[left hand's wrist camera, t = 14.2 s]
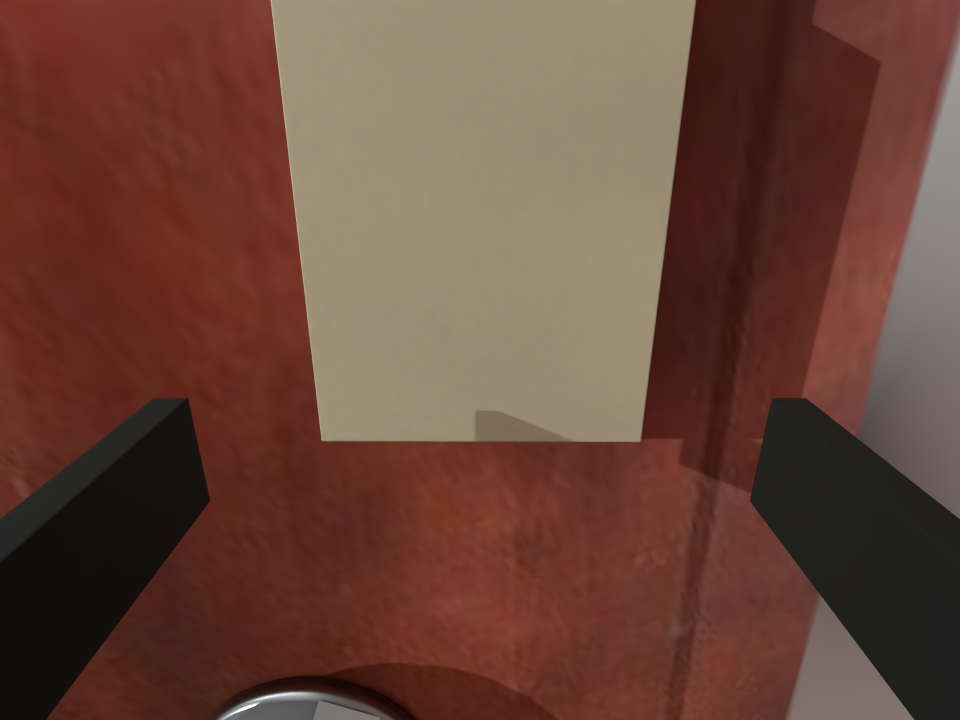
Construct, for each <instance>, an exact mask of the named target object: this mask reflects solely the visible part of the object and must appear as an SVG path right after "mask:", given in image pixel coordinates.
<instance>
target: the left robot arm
mask: <svg viewBox="0 0 960 720" xmlns="http://www.w3.org/2000/svg"><path fill="white" fill-rule="evenodd" d="M209 502H210V498H209V494H208V489H207V484H206V480H205V475H204V470H203V466H202V461H201V456H200V452H199V447H198V443H197V438H196V433H195V429H194V424H193V419H192V415H191V410H190V405H189V401H188V398H154V399H152V400H151V401H150V402H149V403H147V404H146V405H145V406H144V407H142V408H141V409H140V410H139V411H137V412H136V413H135V414H133V415H132V416H131V417H130V418H128V419H127V420H126V421H125V422H123V423H122V424H121V425H119V426H118V427H117V428H116V429H114V430H113V431H112V432H111V433H109V434H108V435H107V436H105V437H104V438H103V439H102V440H100V441H99V442H98V443H97V444H95V445H94V446H93V447H91V448H90V449H89V450H88V451H86V452H85V453H84V454H83V455H81V456H80V457H79V458H77V459H76V460H75V461H74V462H72V463H71V464H70V465H69V466H67V467H66V468H65V469H64V470H62V471H61V472H60V473H58V474H57V475H56V476H55V477H53V478H52V479H51V480H50V481H48V482H47V483H46V484H44V485H43V486H42V487H41V488H39V489H38V490H37V491H36V492H34V493H33V494H32V495H30V496H29V497H28V498H27V499H25V500H24V501H23V502H22V503H20V504H19V505H18V506H16V507H15V508H14V509H13V510H11V511H10V512H9V513H8V514H6V515H5V516H4V517H2V518H1V519H0V720H46V718H47V717H48V716H49V715H50V713H51V712H52V711H53V709H54V708H55V707H56V705H57V704H58V703H59V701H60V700H61V699H62V697H63V696H64V695H65V693H66V692H67V691H68V689H69V688H70V687H71V685H72V684H73V683H74V681H75V680H76V679H77V677H78V676H79V675H80V673H81V672H82V671H83V669H84V668H85V667H86V665H87V664H88V663H89V661H90V660H91V659H92V657H93V656H94V655H95V653H96V652H97V651H98V649H99V648H100V647H101V645H102V644H103V643H104V641H105V640H106V639H107V637H108V636H109V635H110V633H111V632H112V631H113V629H114V628H115V627H116V625H117V624H118V623H119V621H120V620H121V619H122V617H123V616H124V615H125V613H126V612H127V611H128V609H129V608H130V607H131V605H132V604H133V603H134V601H135V600H136V599H137V597H138V596H139V595H140V593H141V592H142V591H143V589H144V588H145V587H146V585H147V584H148V583H149V581H150V580H151V579H152V578H153V576H154V575H155V574H156V572H157V571H158V570H159V568H160V567H161V566H162V564H163V563H164V562H165V560H166V559H167V558H168V556H169V555H170V554H171V552H172V551H173V550H174V548H175V547H176V546H177V544H178V543H179V542H180V540H181V539H182V538H183V536H184V535H185V534H186V532H187V531H188V530H189V528H190V527H191V526H192V524H193V523H194V522H195V520H196V519H197V518H198V516H199V515H200V514H201V512H202V511H203V510H204V508H205V507H206V506H207V504H208V503H209ZM750 502H751V503H752V504H753V506H754V507H755V508H756V510H757V511H758V512H759V514H760V515H761V516H762V518H763V519H764V520H765V522H766V523H767V524H768V526H769V527H770V528H771V530H772V531H773V532H774V534H775V535H776V536H777V538H778V539H779V540H780V542H781V543H782V544H783V546H784V547H785V548H786V550H787V551H788V552H789V554H790V555H791V556H792V558H793V559H794V560H795V562H796V563H797V564H798V566H799V567H800V568H801V570H802V571H803V572H804V574H805V575H806V576H807V578H808V579H809V580H810V581H811V583H812V584H813V585H814V587H815V588H816V589H817V591H818V592H819V593H820V595H821V596H822V597H823V599H824V600H825V601H826V603H827V604H828V605H829V607H830V608H831V609H832V611H833V612H834V613H835V615H836V616H837V617H838V619H839V620H840V621H841V623H842V624H843V625H844V627H845V628H846V629H847V631H848V632H849V633H850V635H851V636H852V637H853V639H854V640H855V641H856V643H857V644H858V645H859V647H860V648H861V649H862V651H863V652H864V653H865V655H866V656H867V657H868V659H869V660H870V661H871V663H872V664H873V665H874V667H875V668H876V669H877V671H878V672H879V673H880V675H881V676H882V677H883V679H884V680H885V681H886V683H887V684H888V685H889V687H890V688H891V689H892V691H893V692H894V693H895V695H896V696H897V697H898V699H899V700H900V701H901V703H902V704H903V705H904V706H905V708H906V709H907V710H908V712H909V713H910V714H911V716H912V717H913V718H914V720H960V519H959V518H957V517H956V516H955V515H954V514H952V513H951V512H950V511H949V510H947V509H946V508H945V507H944V506H942V505H941V504H940V503H938V502H937V501H936V500H934V499H933V498H932V497H931V496H930V495H928V494H927V493H926V492H924V491H923V490H922V489H921V488H919V487H918V486H917V485H916V484H914V483H913V482H912V481H910V480H909V479H908V478H907V477H905V476H904V475H903V474H902V473H900V472H899V471H898V470H896V469H895V468H894V467H893V466H891V465H890V464H889V463H888V462H886V461H885V460H884V459H882V458H881V457H880V456H879V455H877V454H876V453H875V452H874V451H872V450H871V449H870V448H868V447H867V446H866V445H865V444H863V443H862V442H861V441H860V440H858V439H857V438H856V437H855V436H853V435H852V434H851V433H849V432H848V431H847V430H846V429H844V428H843V427H842V426H841V425H839V424H838V423H837V422H835V421H834V420H833V419H832V418H830V417H829V416H828V415H827V414H825V413H824V412H823V411H821V410H820V409H819V408H818V407H816V406H815V405H814V404H813V403H811V402H810V401H809V400H808V399H806V398H772V401H771V405H770V410H769V415H768V419H767V424H766V429H765V433H764V438H763V443H762V447H761V452H760V456H759V461H758V466H757V470H756V475H755V480H754V484H753V489H752V494H751V498H750ZM210 720H413V719H412V718H411V717H410V716H409V715H408V714H407V713H406V712H405V711H403V710H402V709H401V708H400V707H398V706H397V705H395V704H394V703H392V702H391V701H389V700H388V699H386V698H384V697H382V696H380V695H378V694H376V693H374V692H372V691H370V690H367V689H364V688H362V687H359V686H355V685H352V684H349V683H344V682H340V681H335V680H328V679H319V678H291V679H282V680H275V681H271V682H266V683H263V684H260V685H256V686H253V687H251V688H249V689H246V690H244V691H242V692H240V693H238V694H236V695H235V696H233V697H232V698H230V699H229V700H227V701H226V702H225V703H224V704H223V705H221V706H220V708H219V709H218V710H217V711H216V712H215V713H214V715H213V716H212V717H211V719H210Z"/></svg>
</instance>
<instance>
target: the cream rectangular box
mask: <svg viewBox="0 0 960 720" xmlns="http://www.w3.org/2000/svg"><path fill="white" fill-rule="evenodd" d="M695 5H696V0H271V7H272V15H273V24H274V32H275V41H276V50H277V58H278V67H279V76H280V84H281V93H282V101H283V110H284V119H285V127H286V136H287V145H288V153H289V162H290V170H291V179H292V188H293V196H294V205H295V214H296V222H297V231H298V240H299V248H300V257H301V265H302V274H303V283H304V291H305V300H306V309H307V317H308V326H309V334H310V343H311V352H312V360H313V369H314V378H315V386H316V395H317V403H318V412H319V421H320V429H321V438H322V441H463V442H640V441H641V435H642V427H643V419H644V411H645V403H646V395H647V387H648V379H649V371H650V363H651V355H652V348H653V340H654V332H655V324H656V316H657V308H658V300H659V292H660V284H661V276H662V268H663V260H664V252H665V244H666V236H667V228H668V220H669V212H670V204H671V196H672V188H673V180H674V172H675V164H676V156H677V148H678V140H679V132H680V124H681V116H682V108H683V101H684V93H685V85H686V77H687V69H688V61H689V53H690V45H691V37H692V29H693V21H694V13H695Z"/></svg>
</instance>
